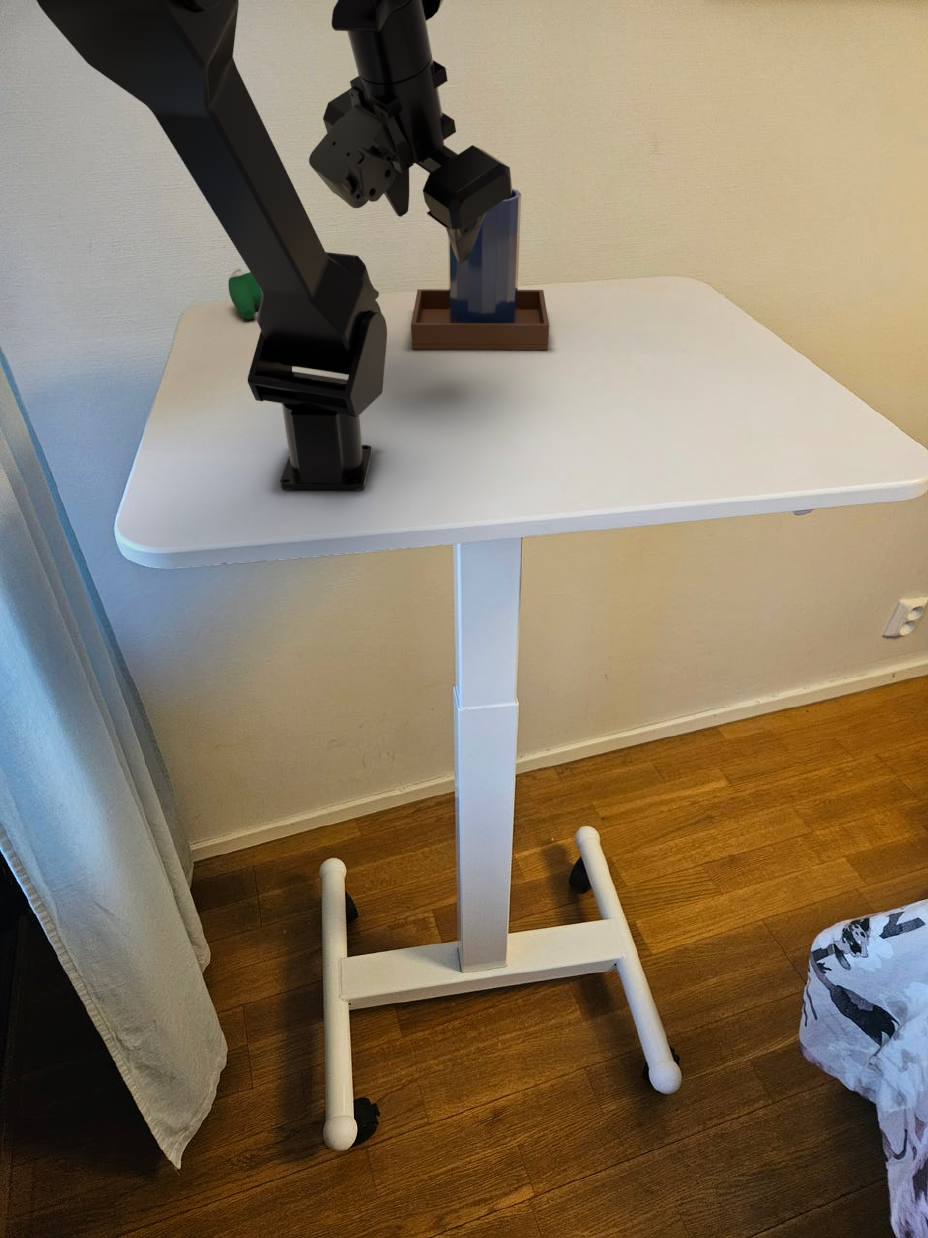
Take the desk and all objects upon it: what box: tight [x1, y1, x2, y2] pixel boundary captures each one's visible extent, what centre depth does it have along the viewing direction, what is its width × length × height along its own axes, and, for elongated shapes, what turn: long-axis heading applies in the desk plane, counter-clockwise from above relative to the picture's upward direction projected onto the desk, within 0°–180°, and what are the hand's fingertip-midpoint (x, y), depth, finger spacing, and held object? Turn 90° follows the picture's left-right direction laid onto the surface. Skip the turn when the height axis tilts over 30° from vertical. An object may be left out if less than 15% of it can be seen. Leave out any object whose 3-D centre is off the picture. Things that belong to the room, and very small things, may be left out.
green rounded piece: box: [228, 267, 262, 321], centre depth 96 cm, size 9×4×6 cm
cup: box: [447, 188, 522, 323], centre depth 87 cm, size 7×7×13 cm
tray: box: [410, 288, 550, 351], centre depth 91 cm, size 11×14×3 cm
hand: (432, 236), depth 77 cm, fingers open, 9 cm apart
